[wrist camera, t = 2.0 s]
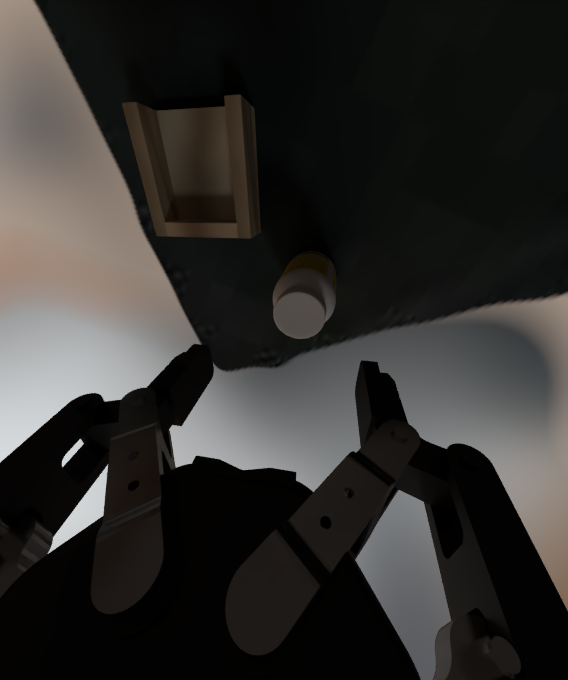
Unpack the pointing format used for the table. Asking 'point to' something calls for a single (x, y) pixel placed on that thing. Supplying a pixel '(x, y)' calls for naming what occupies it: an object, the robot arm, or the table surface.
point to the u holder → (198, 168)
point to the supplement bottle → (305, 295)
